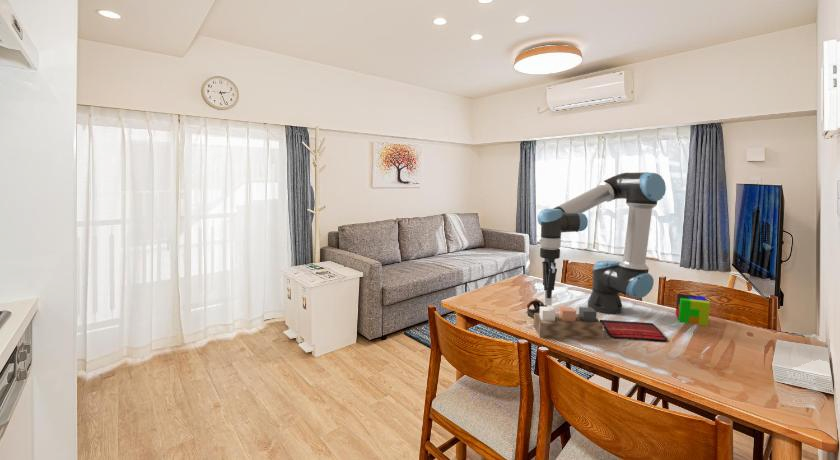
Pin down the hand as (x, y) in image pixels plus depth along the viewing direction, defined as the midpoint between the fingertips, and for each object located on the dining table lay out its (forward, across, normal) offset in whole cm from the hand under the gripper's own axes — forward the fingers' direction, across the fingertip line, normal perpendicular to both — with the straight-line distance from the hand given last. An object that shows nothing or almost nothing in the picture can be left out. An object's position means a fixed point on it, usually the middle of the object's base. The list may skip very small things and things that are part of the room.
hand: (547, 304), depth 155 cm
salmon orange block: (+8, 0, +8) cm, 11 cm away
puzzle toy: (+12, -17, +67) cm, 70 cm away
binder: (+12, -2, +35) cm, 37 cm away
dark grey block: (+8, 0, +16) cm, 18 cm away
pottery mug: (+12, -20, +1) cm, 23 cm away
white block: (+8, 0, 0) cm, 8 cm away
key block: (+12, 0, +8) cm, 14 cm away
